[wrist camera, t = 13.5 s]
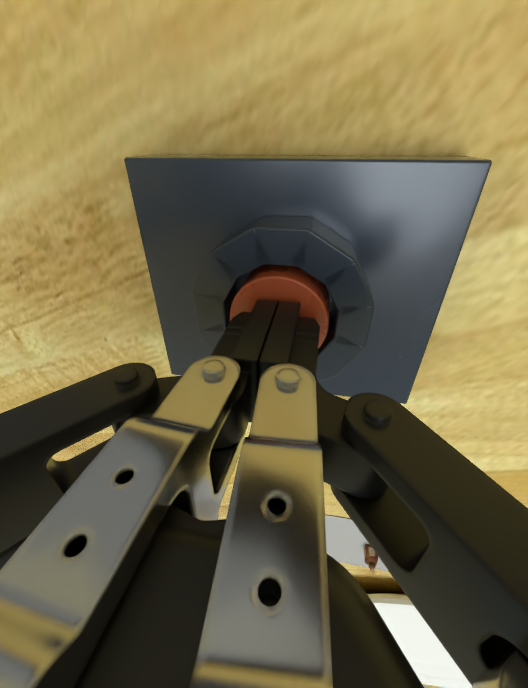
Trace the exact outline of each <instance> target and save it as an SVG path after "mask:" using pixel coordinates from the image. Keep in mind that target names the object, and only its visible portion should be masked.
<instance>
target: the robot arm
mask: <svg viewBox="0 0 528 688" xmlns="http://www.w3.org/2000/svg"><path fill="white" fill-rule="evenodd" d="M300 312H301V303H299V302H287V301H280V302H279V301H274V300H262V299H258V300H257V301H256V304H255V306H254V308H253V310H252V312H240V313H239V314H238V315H236V316H235V317H233V318H232V319H231V321H230V323H229V325H228V326H227V328H226V330H225V331H224V334H223V335H222V337H221V338H220V340H219V342H218V344H217V345H216V347H215V349H214V351H213V352H212V354H211V356H208V357H204V358H202V359H199V360H197V361H196V362H194V363H193V364H192V365H191V366H190V367H189V368H188V369H187V371H186V372H185V373H184V375H182V376H175V377H166V378H157V377H156V374H155V370H154V369H153V368H152V367H151V366H149V365H147V364H144V363H128V364H124V365H120V366H118V367H115V368H113V369H110V370H108V371H105V372H103V373H100V374H98V375H95V376H93V377H90V378H88V379H85V380H83V381H80V382H78V383H75V384H73V385H70V386H68V387H65V388H63V389H61V390H58V391H56V392H53V393H51V394H48V395H46V396H43V397H41V398H38V399H36V400H33V401H31V402H28V403H26V404H23V405H21V406H18V407H16V408H13V409H11V410H8V411H6V412H4V413H1V414H0V688H424V687H423V685H422V683H421V682H420V680H419V678H418V677H417V675H416V673H415V672H414V670H413V668H412V667H411V665H410V663H409V662H408V660H407V658H406V657H405V655H404V653H403V652H402V650H401V648H400V647H399V645H398V644H397V642H396V640H395V639H394V637H393V635H392V634H391V632H390V630H389V629H388V627H387V625H386V624H385V622H384V620H383V619H382V617H381V615H380V614H379V612H378V610H377V609H376V607H375V605H374V604H373V602H372V601H371V599H370V598H369V596H368V595H367V593H366V592H365V591H364V589H363V588H362V587H361V586H360V584H359V583H358V582H357V580H356V579H355V578H354V577H353V576H352V575H351V574H350V573H349V572H348V571H347V570H346V569H345V568H344V567H343V566H342V565H341V564H340V563H339V562H337V561H336V560H335V559H334V558H333V557H331V556H330V555H328V554H327V551H326V529H325V507H324V485H323V481H324V482H326V483H328V484H330V485H331V489H332V492H333V494H334V496H335V497H336V499H337V500H338V501H339V503H340V504H341V506H342V507H343V508H344V510H345V511H346V512H347V514H348V515H349V517H350V518H351V519H352V521H353V522H354V524H355V525H356V526H357V528H358V529H359V530H360V532H361V533H362V535H363V536H364V537H365V539H366V540H367V541H368V543H369V544H370V546H371V547H372V548H373V550H374V551H375V553H376V554H377V555H378V557H379V558H380V559H381V561H382V562H383V564H384V565H385V566H386V568H387V569H388V571H389V572H390V573H391V575H392V576H393V577H394V579H395V580H396V582H397V583H398V584H399V586H400V587H401V588H402V590H403V591H404V593H405V594H406V595H407V597H408V598H409V600H410V601H411V602H412V604H413V605H414V606H415V608H416V609H417V611H418V612H419V613H420V615H421V616H422V618H423V619H424V620H425V622H426V623H427V624H428V626H429V627H430V629H431V630H432V631H433V633H434V634H435V636H436V637H437V638H438V640H439V641H440V642H441V644H442V645H443V647H444V648H445V649H446V651H447V652H448V653H449V655H450V656H451V658H452V659H453V660H454V662H455V663H456V665H457V666H458V667H459V669H460V670H461V671H462V673H463V674H464V676H465V677H466V678H467V680H468V681H469V683H470V684H471V685H472V688H528V508H526V507H525V506H524V505H523V504H522V503H520V502H519V501H518V500H517V499H515V498H514V497H513V496H512V495H511V494H509V493H508V492H507V491H506V490H505V489H503V488H502V487H501V486H500V485H498V484H497V483H496V482H495V481H494V480H492V479H491V478H490V477H489V476H487V475H486V474H485V473H484V472H483V471H481V470H480V469H479V468H478V467H476V466H475V465H474V464H473V463H472V462H470V461H469V460H468V459H467V458H465V457H464V456H463V455H462V454H461V453H459V452H458V451H457V450H456V449H455V448H453V447H452V446H451V445H450V444H448V443H447V442H446V441H445V440H444V439H442V438H441V437H440V436H439V435H437V434H436V433H435V432H434V431H433V430H431V429H430V428H429V427H428V426H426V425H425V424H424V423H423V422H422V421H420V420H419V419H418V418H417V417H416V416H414V415H413V414H412V413H411V412H409V411H408V410H407V409H406V408H405V407H403V406H402V405H401V404H400V403H398V402H397V401H395V400H394V399H392V398H390V397H388V396H385V395H382V394H378V393H370V392H367V393H359V394H356V395H354V396H352V397H351V398H350V399H349V400H348V401H347V400H345V399H342V398H339V397H337V396H335V395H332V394H331V393H329V392H327V391H326V390H325V389H324V388H323V387H322V386H321V385H320V384H319V382H318V380H317V377H316V369H317V357H318V345H319V333H320V325H319V324H318V322H317V321H316V319H315V318H310V317H300ZM248 422H252V424H251V429H250V434H249V437H245V438H244V434H245V431H246V428H247V425H248ZM111 425H112V427H113V429H114V432H115V434H114V436H113V437H112V438H110V439H108V440H106V441H104V442H102V443H100V444H98V445H97V446H95V447H93V448H91V449H89V450H87V451H85V452H83V453H81V454H79V455H77V456H75V457H74V458H72V459H69V460H67V461H55V460H53V459H52V458H51V457H52V456H53V455H54V454H56V453H57V452H59V451H61V450H63V449H65V448H67V447H69V446H71V445H73V444H75V443H77V442H79V441H81V440H83V439H85V438H87V437H89V436H91V435H93V434H95V433H97V432H99V431H101V430H103V429H105V428H107V427H109V426H111ZM239 455H240V457H239ZM238 458H239V462H238V467H237V471H236V476H235V481H234V485H233V490H232V495H231V500H230V504H229V509H228V514H227V518H226V519H224V520H218V514H219V508H220V504H221V501H222V498H223V496H224V493H225V491H226V488H227V486H228V483H229V481H230V478H231V476H232V473H233V470H234V468H235V465H236V463H237V460H238Z"/></svg>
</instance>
